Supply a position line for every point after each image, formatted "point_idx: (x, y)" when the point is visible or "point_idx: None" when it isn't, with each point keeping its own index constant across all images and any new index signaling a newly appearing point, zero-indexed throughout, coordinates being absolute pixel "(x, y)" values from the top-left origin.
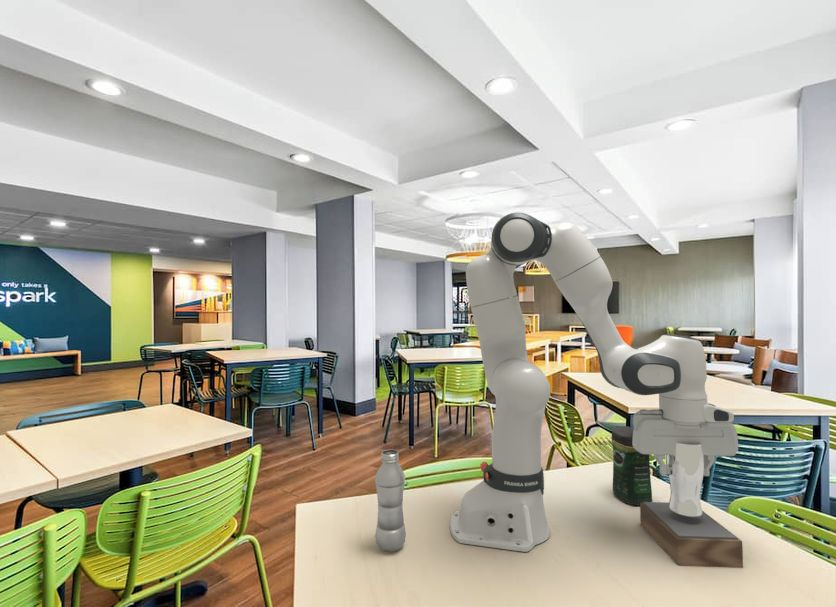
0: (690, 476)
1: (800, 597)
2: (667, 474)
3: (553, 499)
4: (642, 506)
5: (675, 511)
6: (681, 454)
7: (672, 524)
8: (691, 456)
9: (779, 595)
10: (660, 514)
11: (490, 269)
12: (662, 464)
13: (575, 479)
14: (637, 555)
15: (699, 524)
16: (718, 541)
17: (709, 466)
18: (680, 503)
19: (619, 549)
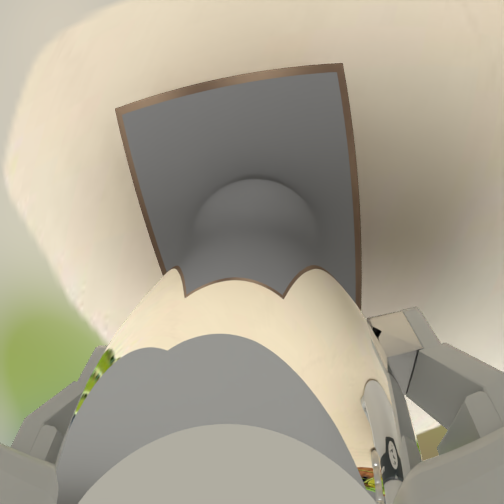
0: (248, 262)
1: (82, 26)
2: (392, 313)
3: (474, 342)
4: (359, 303)
5: (308, 206)
6: (375, 480)
7: (326, 161)
8: (209, 464)
9: (119, 13)
10: (339, 237)
11: None
12: (462, 356)
13: None
14: (412, 111)
15: (220, 184)
16: (192, 85)
17: (70, 390)
18: (294, 212)
19: (444, 137)
